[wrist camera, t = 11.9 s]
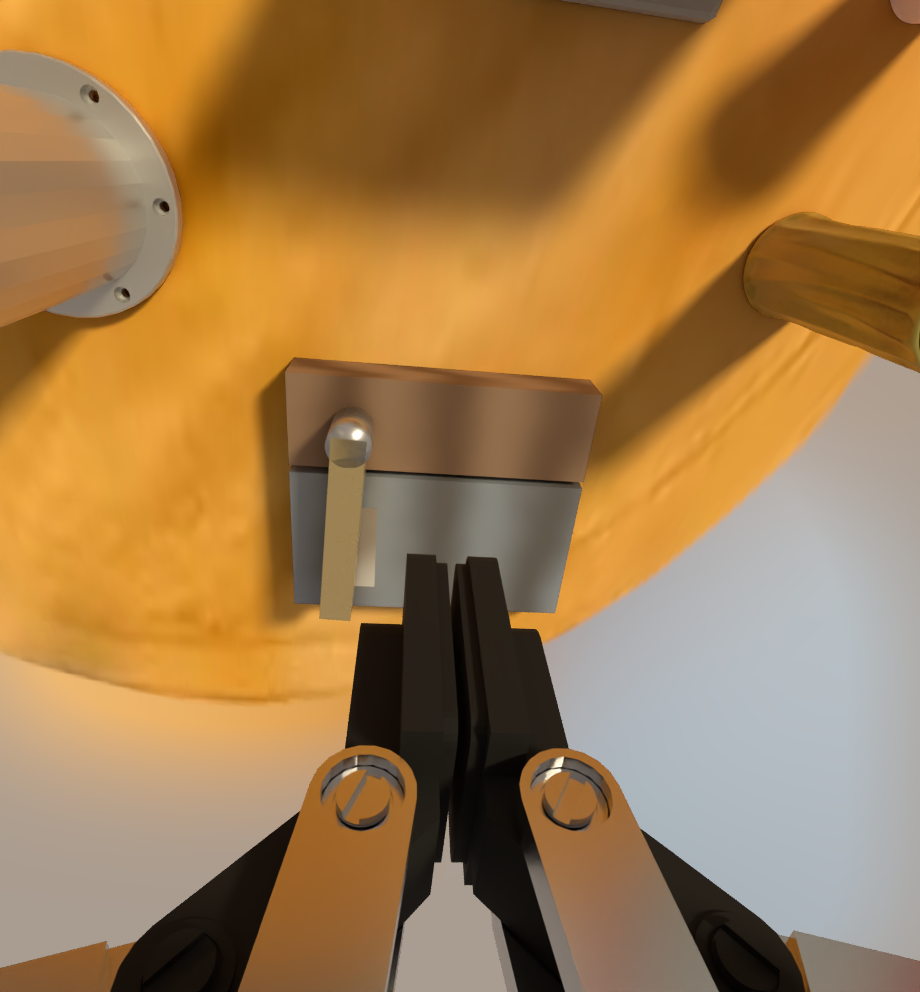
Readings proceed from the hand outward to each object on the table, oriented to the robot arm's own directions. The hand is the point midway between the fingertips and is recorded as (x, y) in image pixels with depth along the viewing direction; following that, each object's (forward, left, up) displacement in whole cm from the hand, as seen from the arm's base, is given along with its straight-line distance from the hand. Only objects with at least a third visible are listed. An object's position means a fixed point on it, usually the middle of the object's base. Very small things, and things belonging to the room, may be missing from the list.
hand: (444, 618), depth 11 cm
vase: (+22, +4, -29) cm, 37 cm away
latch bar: (-4, -13, -26) cm, 29 cm away
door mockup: (+2, -13, -29) cm, 32 cm away
